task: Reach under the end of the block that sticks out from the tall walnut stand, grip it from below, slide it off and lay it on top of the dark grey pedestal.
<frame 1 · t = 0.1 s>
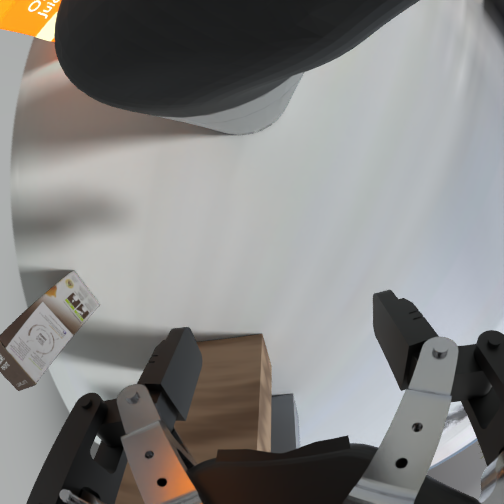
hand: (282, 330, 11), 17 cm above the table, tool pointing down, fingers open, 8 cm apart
pedestal: (259, 410, 39), on the table
coffee box: (73, 298, 33), on the table
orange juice: (96, 12, 18), on the table
stand: (215, 357, 34), on the table
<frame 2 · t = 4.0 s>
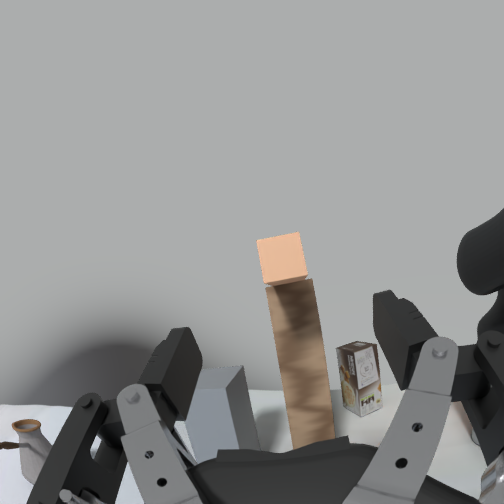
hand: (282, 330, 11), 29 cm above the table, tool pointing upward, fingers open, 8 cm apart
pedestal: (237, 476, 34), on the table
coffee pot: (47, 494, 19), on the table
coffee box: (362, 407, 52), on the table
block: (289, 283, 37), point 32 cm above the table, touching stand
stand: (317, 460, 35), on the table
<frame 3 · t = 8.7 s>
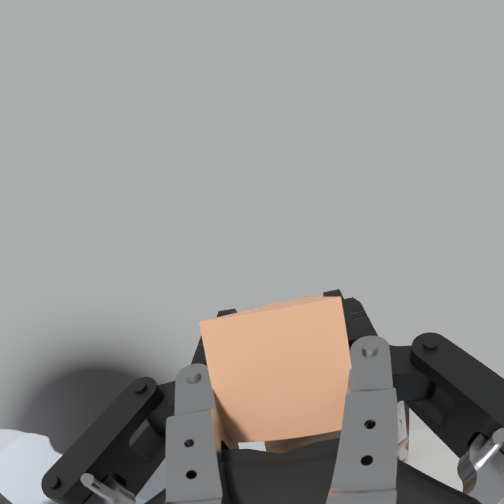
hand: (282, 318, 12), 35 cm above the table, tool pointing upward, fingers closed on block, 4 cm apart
coffee box: (381, 465, 34), on the table
block: (296, 353, 19), point 32 cm above the table, touching gripper, stand
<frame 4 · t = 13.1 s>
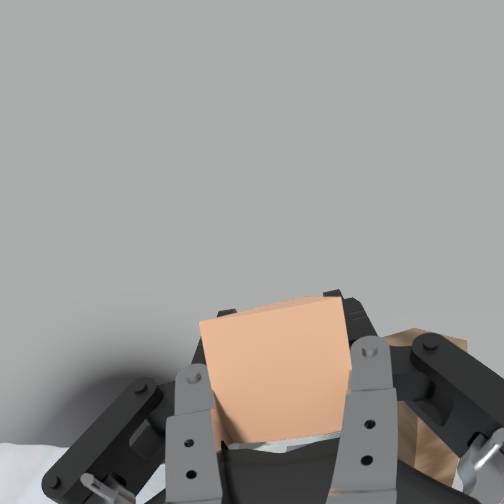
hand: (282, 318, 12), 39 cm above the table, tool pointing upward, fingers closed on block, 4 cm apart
block: (296, 353, 19), point 36 cm above the table, touching gripper
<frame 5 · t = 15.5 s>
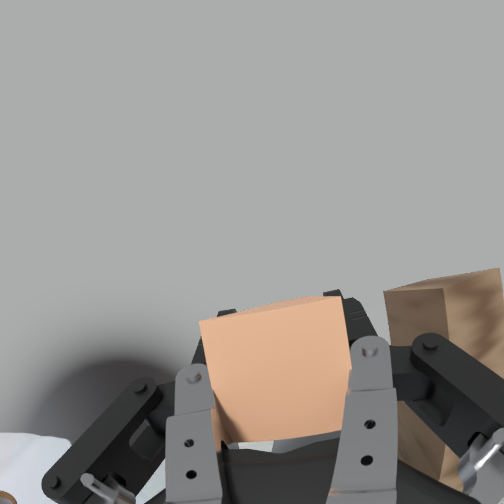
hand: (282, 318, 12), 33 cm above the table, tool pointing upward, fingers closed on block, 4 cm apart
block: (296, 353, 19), point 29 cm above the table, touching gripper
when the fingers open (26 cm above the table, at t = 17.5 s): block drops 2 cm, resting on pedestal.
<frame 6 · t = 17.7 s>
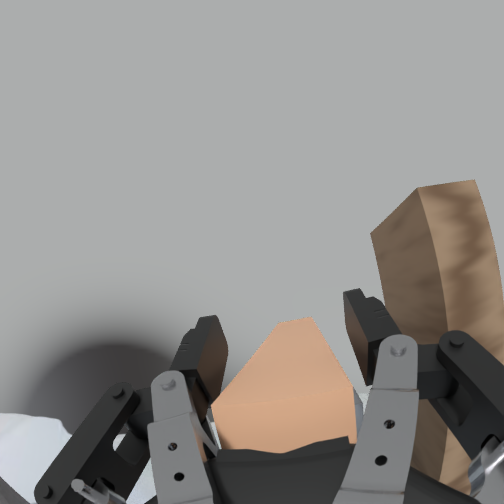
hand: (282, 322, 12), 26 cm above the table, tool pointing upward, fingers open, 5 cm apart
block: (300, 384, 18), point 20 cm above the table, touching pedestal
stand: (430, 486, 16), on the table
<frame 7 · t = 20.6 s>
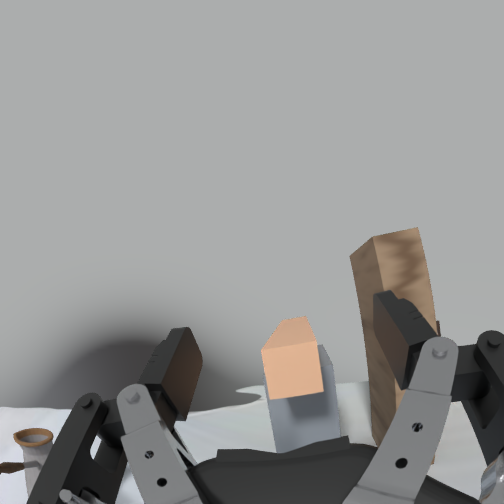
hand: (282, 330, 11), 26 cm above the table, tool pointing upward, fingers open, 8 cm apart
pedestal: (314, 480, 27), on the table
block: (297, 358, 30), point 20 cm above the table, touching pedestal
stand: (400, 449, 28), on the table
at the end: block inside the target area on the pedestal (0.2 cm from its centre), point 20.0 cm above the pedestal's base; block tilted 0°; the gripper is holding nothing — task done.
